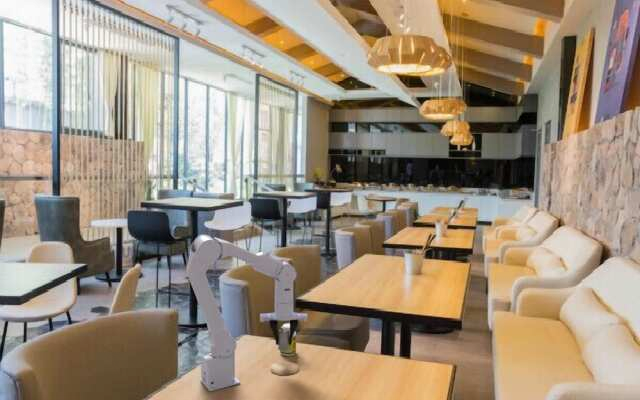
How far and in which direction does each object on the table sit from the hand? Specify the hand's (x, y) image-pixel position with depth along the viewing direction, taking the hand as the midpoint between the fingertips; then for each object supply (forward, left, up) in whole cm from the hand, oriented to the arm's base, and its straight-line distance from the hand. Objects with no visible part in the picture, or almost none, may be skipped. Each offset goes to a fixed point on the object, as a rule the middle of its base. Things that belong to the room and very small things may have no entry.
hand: (283, 343), depth 156 cm
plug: (0, 0, -2) cm, 2 cm away
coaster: (+1, +1, -9) cm, 9 cm away
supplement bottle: (+8, +11, -9) cm, 16 cm away
